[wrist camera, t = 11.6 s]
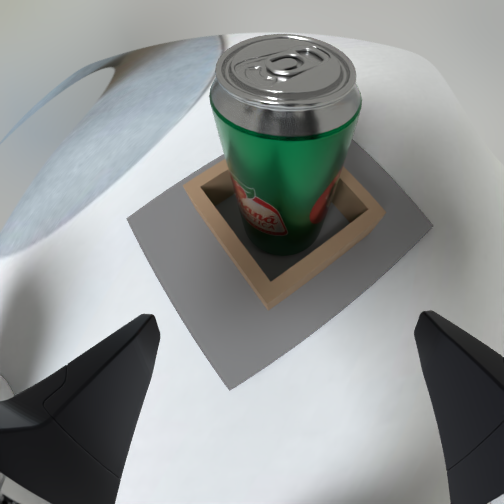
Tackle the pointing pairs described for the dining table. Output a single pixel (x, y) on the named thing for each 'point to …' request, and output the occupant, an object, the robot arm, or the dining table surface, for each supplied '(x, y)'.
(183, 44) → the dining table surface
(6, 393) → the coffee cup
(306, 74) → the soda can
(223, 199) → the can holder
